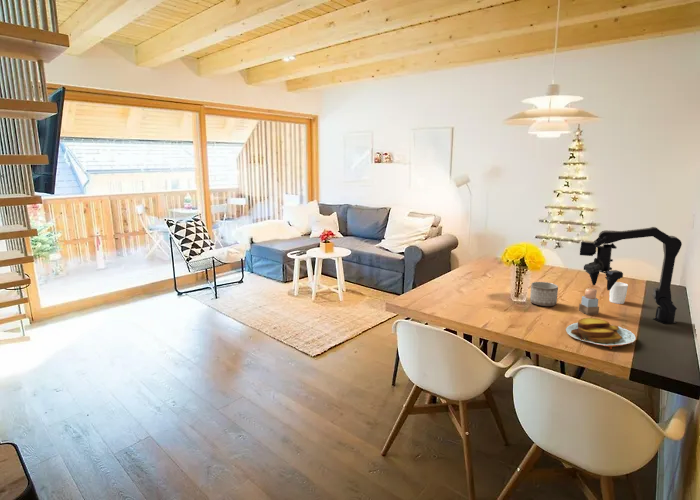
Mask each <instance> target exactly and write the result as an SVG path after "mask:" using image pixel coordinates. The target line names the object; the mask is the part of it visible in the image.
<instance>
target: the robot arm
mask: <svg viewBox="0 0 700 500" xmlns="http://www.w3.org/2000/svg"><path fill="white" fill-rule="evenodd" d="M649 237H652V238H654V239H656V240H658V241H659V242H661V243H662V249H663V250H662V251H663V260H662V266H661V271H660V272H661V273H660V279H659V284H658V285H657V287H653V293H652V294H651V296H652V298H653V300H654V301H655V303H656V304H657V309H656V310H655V317H652V320H654V321H657V322H658V323H661V324H664V325H665V324H666V325H667V324H677V323H678V321H676V320H675V316H676V312H677V311H676V310H677V309H678V308H677V306H676V304H675V303H674V302H673V301H672V300H673V299H672V290H671V286H672V285H671V283H672V279H673V273H674V268H675V263H676V258H677V256H678V254H679V253H680V250H681V248H682V245H683V244H682V243H683V242H682V241H681V240H680V239H679V238H678V237H677V236H674V235H669V234H667V233H666V232H664V231H662V230H660V229H659V228H658V227H656V226H651V227H646V228H645V227H644V228H636V229H628V230H627V229H626V230H602V231H600V232H599V234H598V237H597V238H596V239H595V240H594V241H593V242H591V241H590V242H588V241H581V242H580V247H579V256H585V257H586V256H587V257H593V255H594V256H595V255H596V257H595V258H594V259H593V261H592V262H589V263H585V264H584V265H583V270H584V271H585V272H586V273H587V274H589V277H590V281H591V284H592V286H596V285H597V281H598V277H599V276H600V273H602V274H604V275H605V280H606V290H607V291H610V289H611V288H612V286H613V285H614V284H615V282H618V280H620V279H622V278H624V272H622V271H620V270H617V269H615V270H614V269H613V267H612V266H611V262H614V259H612V250H613V249H615V250H616V249H617V246H616V244H615V242H619V241H622V240H629V239H630V240H632V239H639V238H640V239H641V238H649Z"/></svg>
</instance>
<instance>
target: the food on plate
mask: <svg viewBox="0 0 700 500" xmlns="http://www.w3.org/2000/svg"><path fill="white" fill-rule="evenodd" d="M565 331H566V334H567V335H568V336H570V337H572V338H573V339H577V340H580V341H583V342H587V343H590V344H593V345H598V346H602V347H603V346H604V347H608V349H609V350H612V349H613V347H619V346H620V347H621V346H625V345H627V344H628V345H629V344H631V345H634V343H635V341H637V336H636V335H635V333H633V332H632V331H631V330H628V329H627V328H624V327H622V326H618V325H615V324H610V322H609V321H607V320H605V319H602V318H595V317H594V318H593V317H584V318H580V319H579V320H578V321H577V322H574V323H572V324H569V325H567V327H565ZM581 339H582V340H581ZM584 339H585V340H584ZM586 340H587V341H586Z"/></svg>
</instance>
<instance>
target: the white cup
mask: <svg viewBox="0 0 700 500" xmlns="http://www.w3.org/2000/svg"><path fill="white" fill-rule="evenodd" d="M628 287H629V284H628V283H626V282H625V283H624V282H621V281H616V282H615V284H614V285H613V286H612V288H611V289H610V290H609V299H608V301H609V302H610V303H611V304H612V303H613V304H618V305H621V304H622V305H623V304H625V301H626V298H627V294H628V293H627V292H628Z"/></svg>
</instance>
